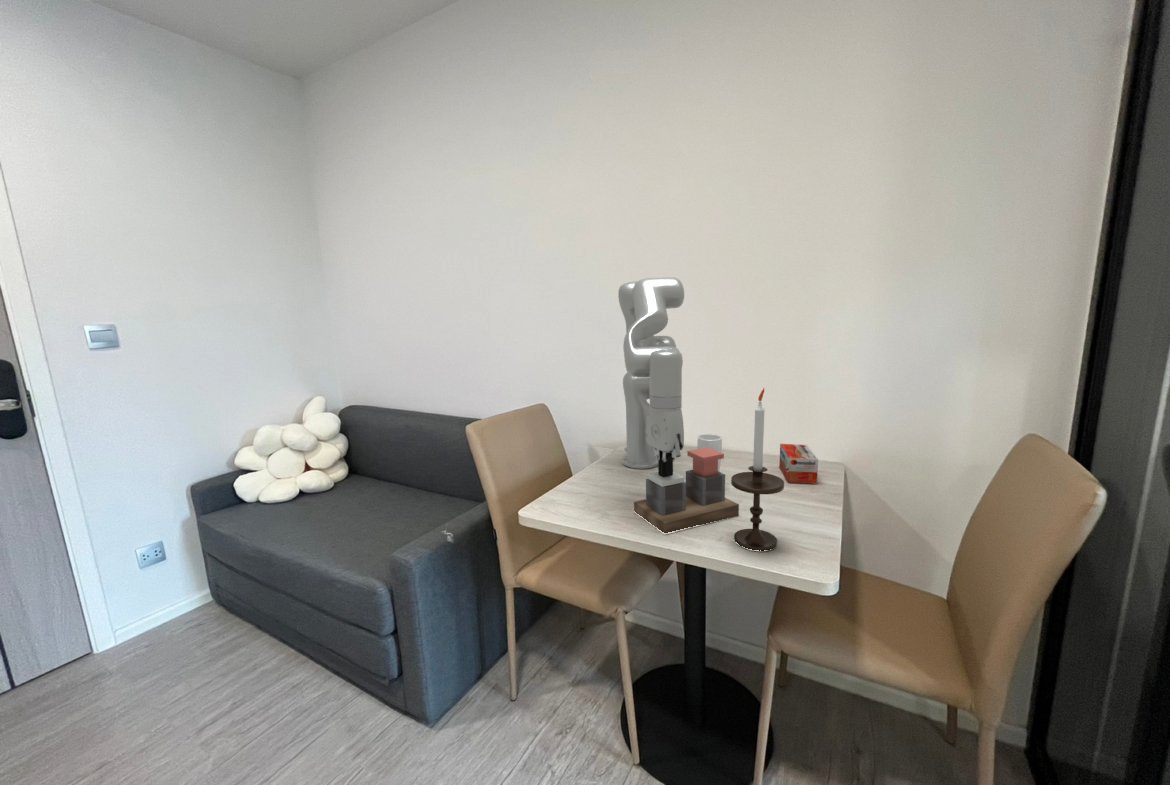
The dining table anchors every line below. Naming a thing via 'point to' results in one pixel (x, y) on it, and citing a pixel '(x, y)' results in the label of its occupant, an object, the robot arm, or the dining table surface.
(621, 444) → the dining table surface
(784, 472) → the medicine box
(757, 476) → the candlestick
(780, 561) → the dining table surface
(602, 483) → the dining table surface
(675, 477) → the grey plunger
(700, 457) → the red plunger
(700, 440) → the drinking glass
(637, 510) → the board
